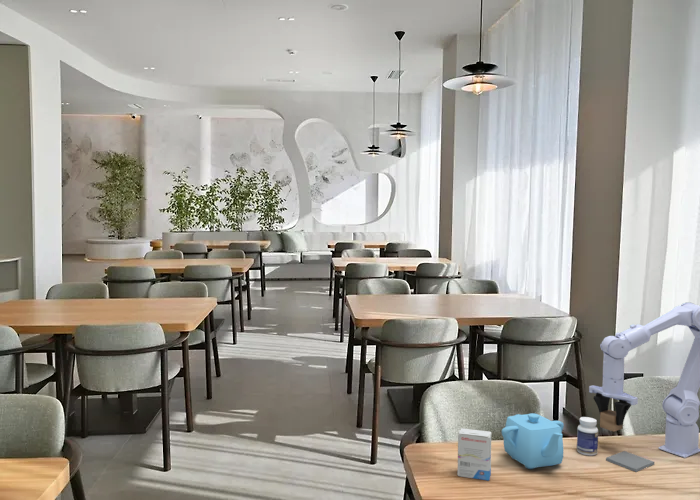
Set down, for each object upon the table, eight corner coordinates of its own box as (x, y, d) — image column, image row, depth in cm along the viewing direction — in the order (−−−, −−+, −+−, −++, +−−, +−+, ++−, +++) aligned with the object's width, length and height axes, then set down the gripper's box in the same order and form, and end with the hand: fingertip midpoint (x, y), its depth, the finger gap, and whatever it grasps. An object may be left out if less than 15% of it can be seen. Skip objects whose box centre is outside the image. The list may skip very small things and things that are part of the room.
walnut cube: (609, 424, 179) (609, 409, 179) (622, 428, 175) (623, 413, 175) (599, 427, 176) (600, 412, 176) (613, 431, 173) (614, 416, 172)
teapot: (493, 464, 166) (494, 417, 165) (512, 445, 179) (513, 401, 178) (561, 480, 156) (562, 431, 155) (575, 459, 169) (576, 413, 169)
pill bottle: (599, 457, 171) (600, 423, 170) (578, 455, 172) (579, 421, 171) (595, 449, 176) (596, 416, 176) (575, 447, 178) (576, 415, 177)
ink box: (491, 473, 160) (492, 430, 159) (489, 481, 155) (490, 437, 154) (459, 468, 163) (460, 426, 162) (456, 476, 158) (457, 433, 157)
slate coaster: (624, 453, 173) (624, 450, 173) (654, 464, 166) (654, 461, 166) (605, 460, 168) (606, 457, 168) (635, 472, 161) (636, 469, 161)
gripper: (583, 373, 179) (582, 417, 180) (628, 385, 167) (626, 432, 167) (597, 370, 183) (596, 413, 183) (642, 381, 170) (640, 427, 171)
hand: (611, 422), depth 176 cm, fingers closed on walnut cube, 4 cm apart
